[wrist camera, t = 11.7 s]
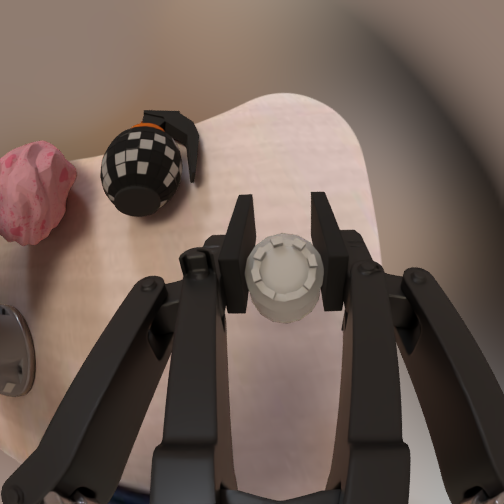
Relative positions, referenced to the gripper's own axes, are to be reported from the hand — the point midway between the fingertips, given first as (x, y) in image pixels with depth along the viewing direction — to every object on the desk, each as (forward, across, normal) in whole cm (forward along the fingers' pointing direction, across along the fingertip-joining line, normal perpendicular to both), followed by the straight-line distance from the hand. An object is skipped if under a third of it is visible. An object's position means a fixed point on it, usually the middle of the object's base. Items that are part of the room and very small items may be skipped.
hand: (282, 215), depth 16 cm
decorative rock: (+7, -39, +3) cm, 40 cm away
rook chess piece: (0, 0, -5) cm, 5 cm away
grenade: (+10, -14, -3) cm, 17 cm away
